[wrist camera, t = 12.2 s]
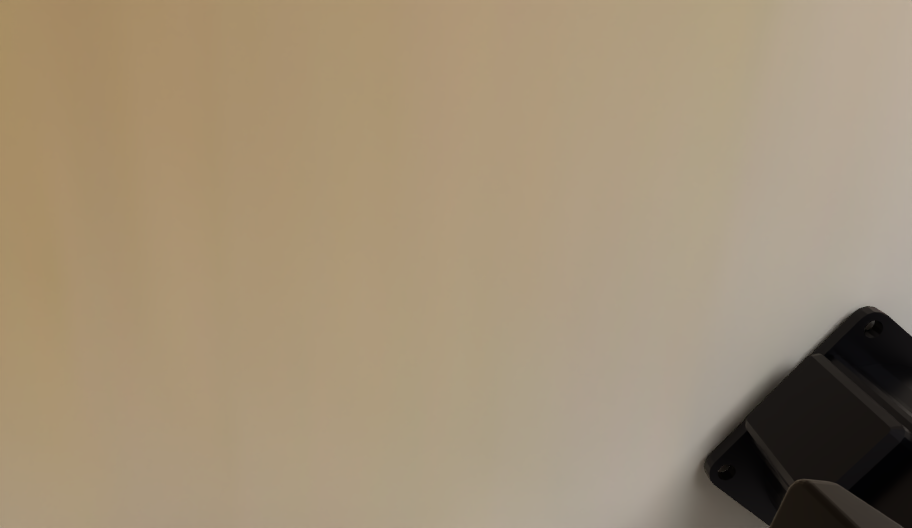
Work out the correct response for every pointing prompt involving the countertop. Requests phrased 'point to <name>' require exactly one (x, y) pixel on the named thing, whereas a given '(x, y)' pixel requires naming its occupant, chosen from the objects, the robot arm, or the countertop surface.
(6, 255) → the countertop surface
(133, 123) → the countertop surface
